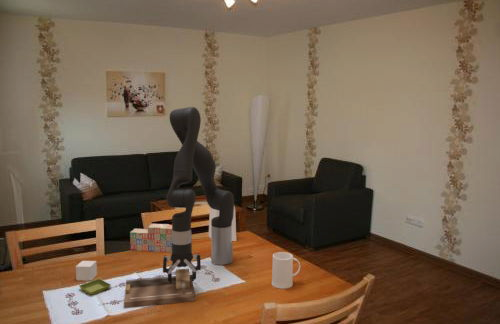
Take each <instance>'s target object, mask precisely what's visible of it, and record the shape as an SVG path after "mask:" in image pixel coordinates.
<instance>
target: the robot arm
mask: <svg viewBox="0 0 500 324" xmlns="http://www.w3.org/2000/svg"><path fill="white" fill-rule="evenodd" d="M201 121H202V118H201V113H200V111H199V109H198V108H197V107H194V106H188V107H183V108H177V109H176V108H175V109H174V110H172V111H170V113H169V123H170V126H171V128H172V130H173V132H174V133H175V135H176V137H177V138H178V140H179V142H180V143H181V147H180V149H179V151H178V152H177V154H176V156H175V159H174V164H173V174H172V181H171V184H170V187H169V188H168V189H169V190H168V192H167V196H166V203H167V205H168V206H169V207H170V208H175V209H176V208H181V209H182V208H183V209H184V208H185V210H184V211H181V212H176V213H174V214H173V215H172V217H171V225H172V239H171V241H172V253H171V255H169V256H167V255H163V257H162V258H163V261H162V272H163V274H167V277H168V282H170V283H172V276H173V275H172V273H173V271H174V270H176V269H177V268H182V267H183V268H186V267H188V268H189V270H191V275H192V281H193V282H195V281H196V280H197V271H201V269H202V266H201V265H202V264H201V255H200V253H199V252H198V253H196V254H193V248H192V247H193V239H192V238H193V237H192V235H193V234H192V215H193V210H194V206H195V204H196V198H197V196H196V192H195V191H194V190H193V189H192V188H179V187H180V186H182V185H185V184H189V183H191V182H192V180H193V170H194V172H195V174H196V176H197V178H198V182H199V183H200V185H201V187H202V190H203V193H204V196H205V199H206V203H207V205H208V206H209V208H210V207H211V208H212V209H215V210H219V216H218V217H214V218H213V219H212V221H211V239H210V240H211V243H210V244H211V245H210V246H211V247H210V248H211V253H210V256H211V261H210V262H211V263H212V264H214V265H216V266H219V265H220V266H226V265H228V264H233V246H234V245H233V244H234V242H232V220H233V213H234V207H235V197H234V194H233V193H232V192H231V191H229V190H223V189H220V188H219V187H218V185H217V184H216V180H215V176H216V171H217V168H216V163H215V159H214V157H213V155H212V153H211V152H210V150H209V149H208V148H207V147H206V146H205V145H203V144H202V143H201V142H200V141H198V139H199V133H200V128H201ZM193 259H194V260H195V261H196V266H195V264H194V263H193V262H192V261H193ZM169 261H171V262H172V263H170V266H169V267H167V263H169Z"/></svg>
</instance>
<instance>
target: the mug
mask: <svg viewBox="0 0 500 324" xmlns="http://www.w3.org/2000/svg"><path fill="white" fill-rule="evenodd" d="M294 261H295V262H297V263H298V269H297V271H296V272H295V273H294V272H293V268H294V267H293V266H294V265H293V264H294ZM271 266H272V268H271V270H272V271H271V272H272V273H271V274H272V275H271V286H272V287H274V288H276V289H281V290H282V289H283V290H285V289H290V288H291V287H293V278H294V277H295V276H297V275H298V274H299V272H300V270H301V263H300V261H299V259H297V258H295V257H294V256H293V254H292V253H290V252H285V251H278V252H274V253H272V265H271Z"/></svg>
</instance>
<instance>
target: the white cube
mask: <svg viewBox="0 0 500 324" xmlns="http://www.w3.org/2000/svg"><path fill="white" fill-rule="evenodd" d="M97 266H98V265H97V260H81V261H80V262H79V263H77V265H75V277H76V278H75V279H76V281H88V282H91V281H93V280H94V278H95V277H96V276H98V267H97Z"/></svg>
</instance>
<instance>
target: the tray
mask: <svg viewBox="0 0 500 324" xmlns="http://www.w3.org/2000/svg"><path fill="white" fill-rule="evenodd" d="M125 283H126V284H125V290H124V292H125V294H124V299H123V308H124V309H125V308H127V309H128V308H137V307H145V306H157V305H165V304H166V305H167V304H176V303H177V304H178V303H186V302H187V303H188V302H189V303H190V302H196V293H195V287H194V281H192V274H190V288H186V289H185V294H183V289H182V288H179V289H176V275H172V283H170V282H168V276H157V277H147V278H134V279H133V278H132V279H126V282H125Z"/></svg>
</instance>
